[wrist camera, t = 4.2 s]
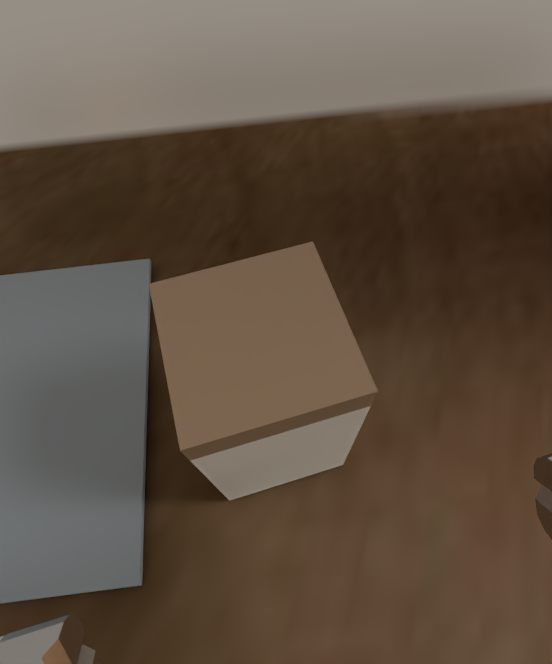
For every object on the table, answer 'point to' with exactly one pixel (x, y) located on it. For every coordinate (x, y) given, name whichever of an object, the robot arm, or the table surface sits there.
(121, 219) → the table surface
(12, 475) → the slate mat
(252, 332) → the cream block
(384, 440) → the table surface
